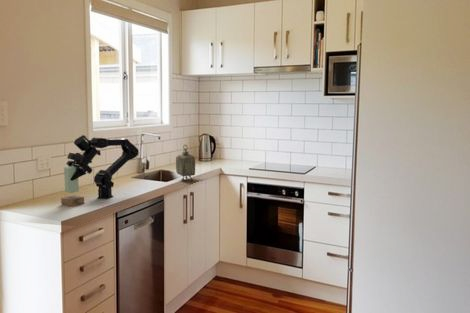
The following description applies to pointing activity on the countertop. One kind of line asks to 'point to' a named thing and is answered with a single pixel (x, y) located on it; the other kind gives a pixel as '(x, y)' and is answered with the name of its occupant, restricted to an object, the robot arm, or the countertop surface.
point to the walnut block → (72, 200)
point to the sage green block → (70, 185)
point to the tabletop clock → (185, 164)
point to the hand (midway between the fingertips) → (68, 179)
